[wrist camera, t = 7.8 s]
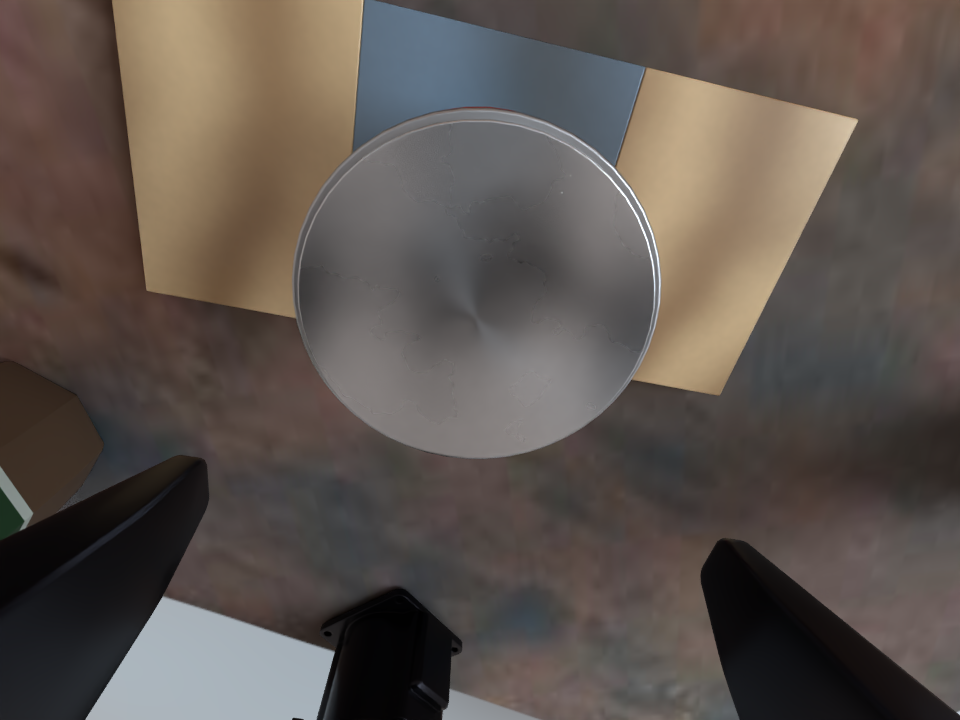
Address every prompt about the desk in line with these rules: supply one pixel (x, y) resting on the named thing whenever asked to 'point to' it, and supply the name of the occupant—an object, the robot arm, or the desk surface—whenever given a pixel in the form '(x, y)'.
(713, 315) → the board
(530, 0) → the desk surface
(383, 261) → the tin can
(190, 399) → the desk surface
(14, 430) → the beer bottle
